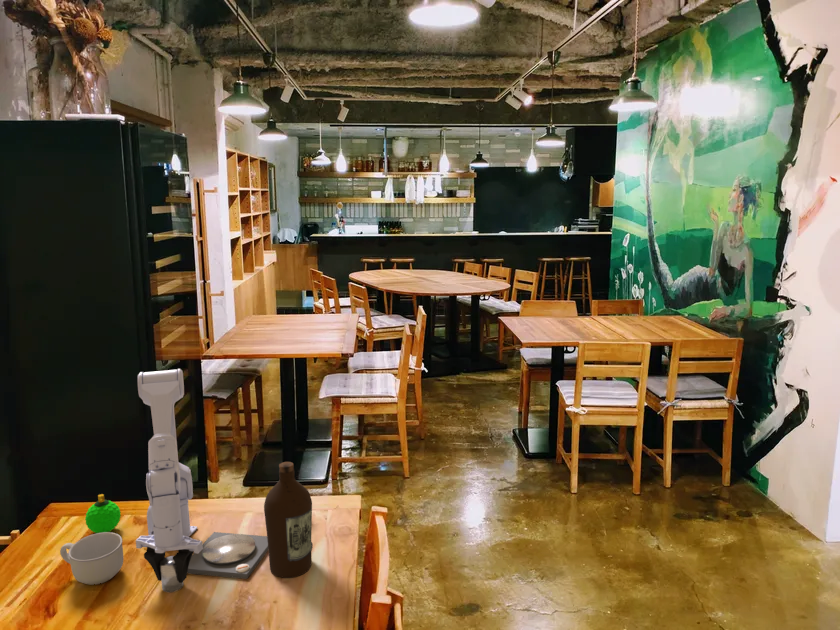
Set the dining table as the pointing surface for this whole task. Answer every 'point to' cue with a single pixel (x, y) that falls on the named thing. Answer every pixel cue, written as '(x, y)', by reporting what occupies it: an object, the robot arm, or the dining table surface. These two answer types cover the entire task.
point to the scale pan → (228, 549)
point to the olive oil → (288, 525)
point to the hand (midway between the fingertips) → (172, 579)
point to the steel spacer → (169, 575)
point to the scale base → (233, 569)
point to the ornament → (102, 515)
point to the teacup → (95, 557)
